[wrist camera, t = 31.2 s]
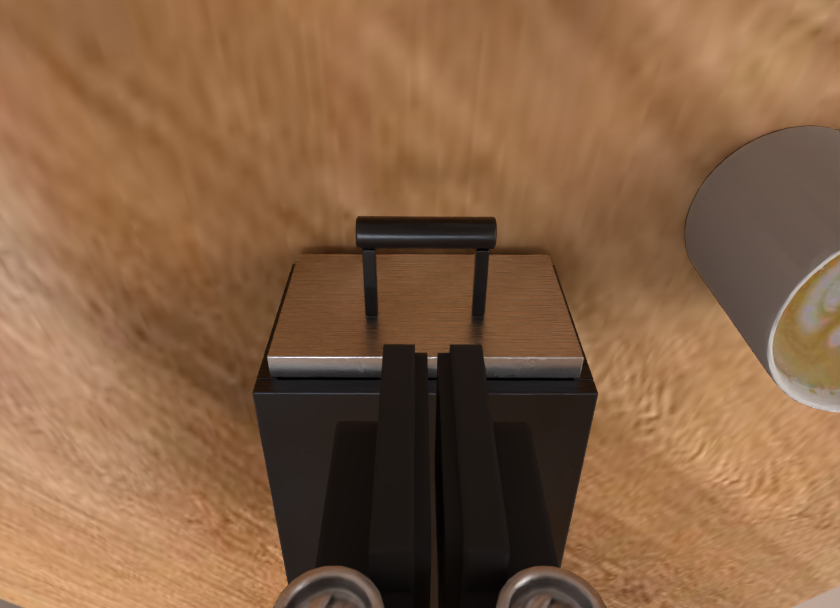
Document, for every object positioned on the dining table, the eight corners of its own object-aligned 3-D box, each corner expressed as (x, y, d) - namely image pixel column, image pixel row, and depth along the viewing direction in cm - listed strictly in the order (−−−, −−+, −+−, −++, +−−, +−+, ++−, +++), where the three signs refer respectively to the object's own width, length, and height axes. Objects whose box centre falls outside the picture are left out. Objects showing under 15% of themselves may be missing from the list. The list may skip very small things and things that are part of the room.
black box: (292, 263, 36) (251, 392, 27) (554, 264, 36) (598, 393, 28) (317, 467, 46) (292, 613, 37) (525, 467, 46) (551, 613, 37)
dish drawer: (288, 167, 32) (250, 257, 25) (560, 169, 32) (603, 258, 25) (321, 453, 44) (301, 573, 36) (521, 454, 44) (542, 573, 36)
